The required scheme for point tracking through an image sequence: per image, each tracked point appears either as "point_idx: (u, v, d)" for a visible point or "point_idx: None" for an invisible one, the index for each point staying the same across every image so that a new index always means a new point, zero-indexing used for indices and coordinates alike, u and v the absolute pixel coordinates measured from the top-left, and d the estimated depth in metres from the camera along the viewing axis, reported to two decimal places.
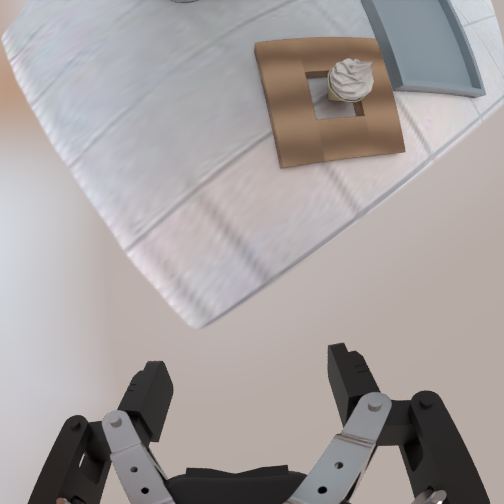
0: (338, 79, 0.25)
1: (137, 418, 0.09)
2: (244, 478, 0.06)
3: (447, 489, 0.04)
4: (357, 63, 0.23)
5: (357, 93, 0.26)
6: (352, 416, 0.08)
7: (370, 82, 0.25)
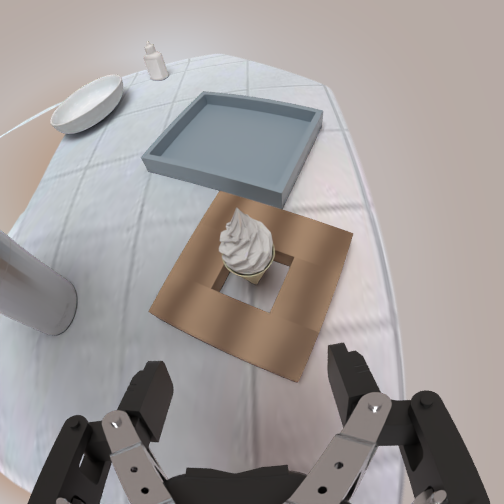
0: (237, 260, 0.24)
1: (137, 418, 0.09)
2: (244, 478, 0.06)
3: (447, 489, 0.04)
4: (230, 226, 0.23)
5: (265, 250, 0.25)
6: (352, 416, 0.08)
7: (260, 226, 0.25)
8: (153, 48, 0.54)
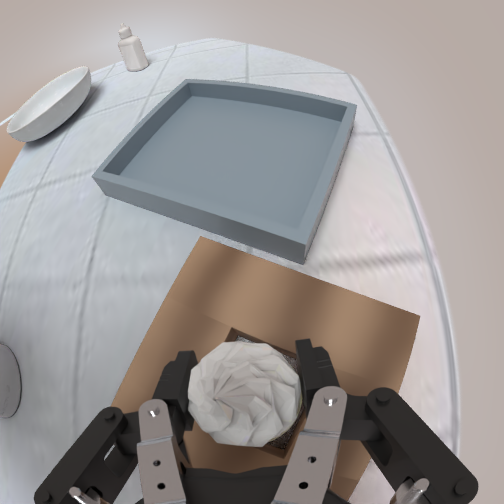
0: (227, 441, 0.10)
1: (174, 406, 0.10)
2: (244, 478, 0.06)
3: (428, 476, 0.05)
4: None
5: (286, 417, 0.10)
6: (311, 412, 0.08)
7: (277, 368, 0.11)
8: (129, 31, 0.39)
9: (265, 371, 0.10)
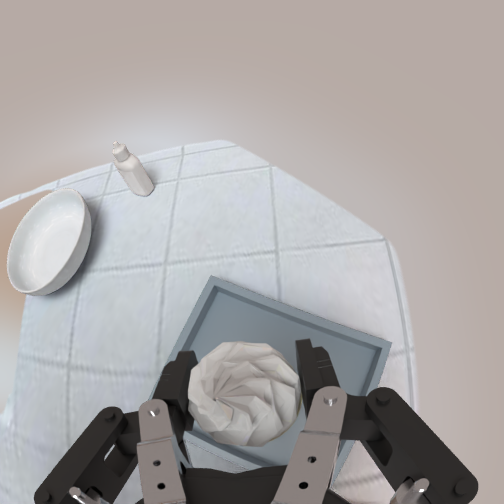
0: (227, 441, 0.10)
1: (174, 406, 0.10)
2: (244, 479, 0.06)
3: (428, 476, 0.05)
4: None
5: (286, 417, 0.10)
6: (311, 412, 0.08)
7: (277, 368, 0.11)
8: (125, 152, 0.41)
9: (265, 371, 0.10)
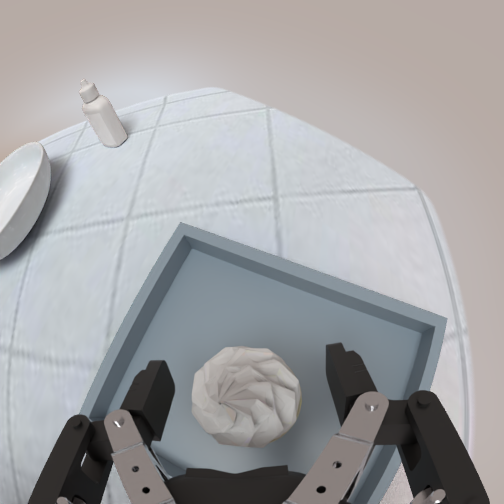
0: (230, 442, 0.10)
1: (139, 417, 0.09)
2: (244, 479, 0.06)
3: (446, 488, 0.04)
4: None
5: (286, 419, 0.10)
6: (349, 415, 0.08)
7: (278, 372, 0.11)
8: (93, 91, 0.29)
9: (266, 375, 0.11)
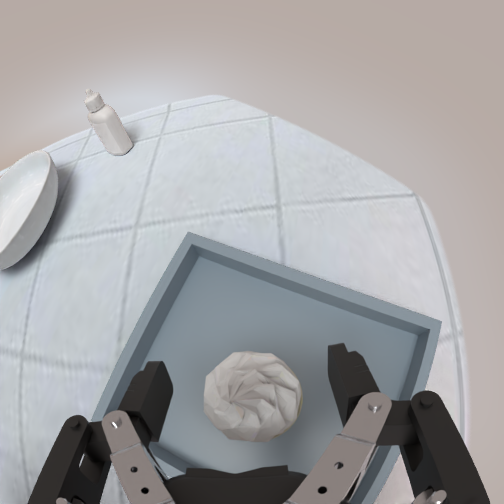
0: (238, 437, 0.11)
1: (137, 418, 0.09)
2: (244, 478, 0.06)
3: (447, 489, 0.04)
4: None
5: (288, 416, 0.12)
6: (352, 416, 0.08)
7: (280, 374, 0.12)
8: (99, 101, 0.31)
9: (270, 377, 0.12)
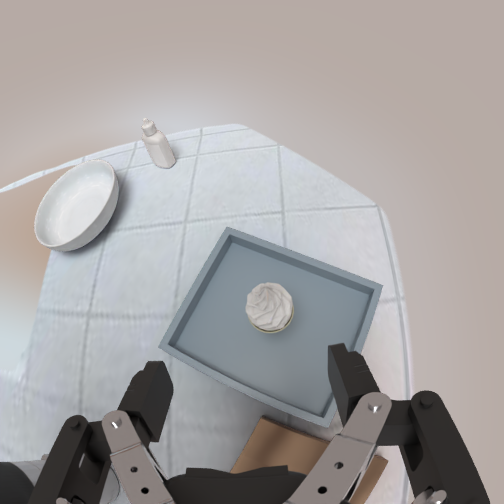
0: (262, 323, 0.28)
1: (137, 418, 0.09)
2: (244, 478, 0.06)
3: (447, 489, 0.04)
4: (258, 297, 0.26)
5: (286, 313, 0.28)
6: (352, 416, 0.08)
7: (283, 292, 0.29)
8: (153, 128, 0.47)
9: None
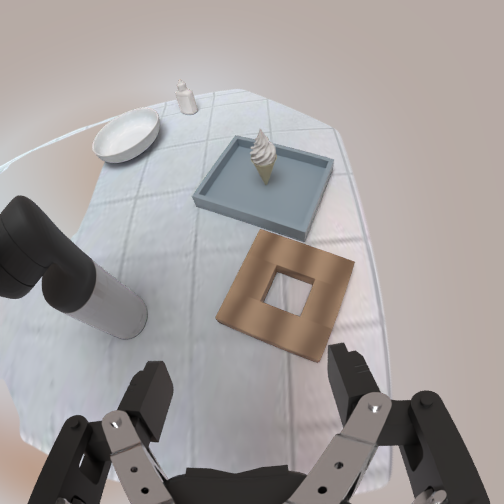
0: (259, 156, 0.50)
1: (137, 418, 0.09)
2: (244, 479, 0.06)
3: (447, 489, 0.04)
4: (256, 139, 0.49)
5: (272, 152, 0.50)
6: (352, 416, 0.08)
7: (270, 143, 0.51)
8: (185, 86, 0.69)
9: None
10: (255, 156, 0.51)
